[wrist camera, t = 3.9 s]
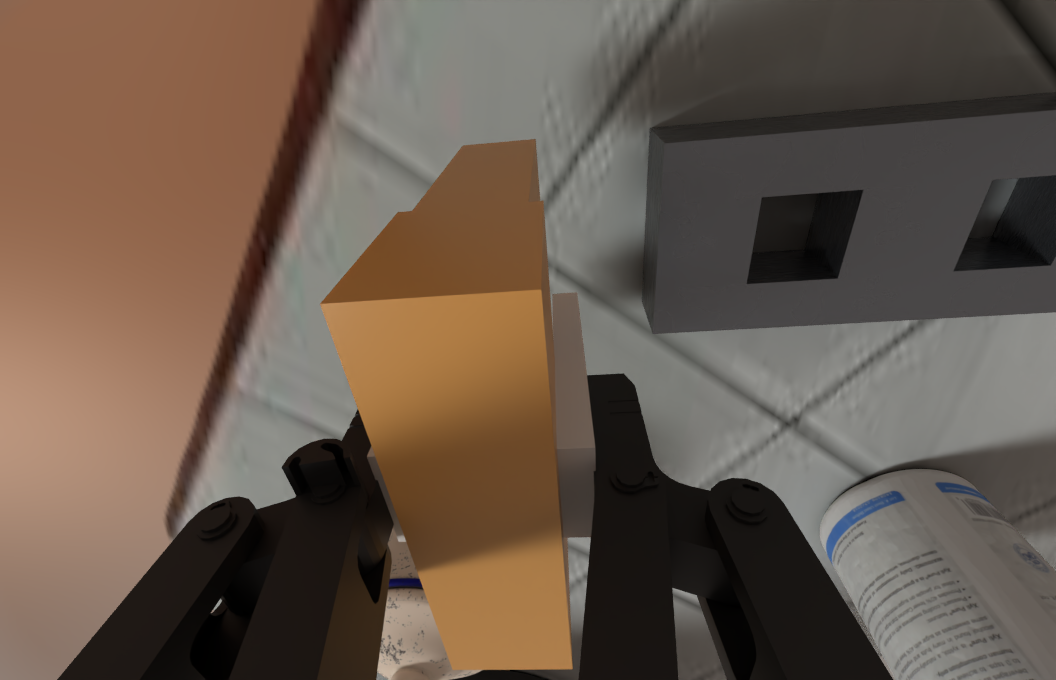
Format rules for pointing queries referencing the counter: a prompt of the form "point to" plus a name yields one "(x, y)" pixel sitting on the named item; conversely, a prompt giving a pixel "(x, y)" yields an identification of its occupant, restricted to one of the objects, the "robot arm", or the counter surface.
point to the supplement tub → (943, 579)
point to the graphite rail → (853, 216)
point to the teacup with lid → (411, 626)
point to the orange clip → (467, 404)
